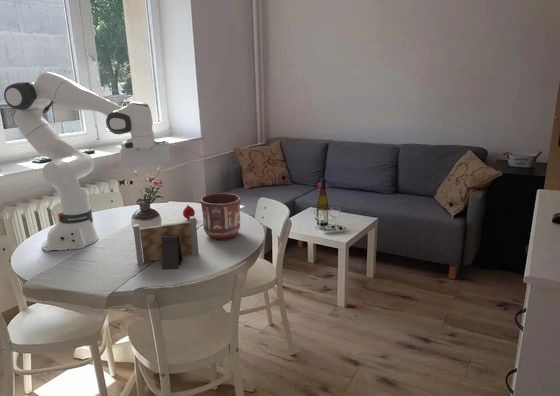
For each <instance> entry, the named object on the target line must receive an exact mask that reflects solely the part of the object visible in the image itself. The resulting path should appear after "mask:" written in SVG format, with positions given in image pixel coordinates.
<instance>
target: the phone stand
mask: <svg viewBox="0 0 560 396" xmlns="http://www.w3.org/2000/svg"><path fill="white" fill-rule="evenodd" d="M183 261H184V256H183V255H182V251H181V246H180V241H179V235H163V236H162V260H161V266H162V268H161V269H162V270H179V267H180V266H181V264H182V262H183Z"/></svg>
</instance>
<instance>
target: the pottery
mask: <svg viewBox="0 0 560 396" xmlns="http://www.w3.org/2000/svg"><path fill="white" fill-rule="evenodd" d="M200 205H201V211H202V223H203V224H202V225H203V230H204V233H205V234H206V235H207V236H208V237H209V238H210V239H212V240H214V241H226V240H230V239H233V238H234V237H235V236H237V234H238V232H239V231H240V229H241V196H239V195H237V194H234V193H229V192H228V193H225V192H222V193H221V192H220V193H219V192H217V193H211V194H207V195H204V196H202V197H201V198H200Z"/></svg>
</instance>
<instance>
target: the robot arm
mask: <svg viewBox="0 0 560 396" xmlns="http://www.w3.org/2000/svg"><path fill="white" fill-rule="evenodd" d="M3 97H4V101H5V103H6V104H7V106H9V107H10V108H12V109H14V110H16V111H17V110H18V111H17V112H16V113H15V114H14V117H13V121H14V123H15V125H16V127H17V128H18V131H20V133H21V134H22V136H23V137H24V138H25V139H26V141H28V143H29V145H31V147H32V148H33V149H34V150H35V151H36V152H37V153H38V154H39V155H41V156H43V157H46V158H49V159H50V160H51V161H49V162H48V163H46V164H45V165H44V166H43V168H42V177H43V179H44V180H45V182H46V183H48V184H49V185H51V186H53V187H54V189H55V191H56V193H57V195H58V197H59V200H60V205H61V211H58V213H57V218H58V222H57V223H56V224H55V225H54V226H53V227H51V228H50V229H49V231H48V232H47V238H46V240H45V241H44V242H43V243H42V250H43V249H44V250H46V251H45V252H50V251H49V250H58V251H65V250H66V251H67V249H69V250H77V249H78V250H79V249H84V248H85V247H87V246H89V245H91V244H94V243H96V242H97V241H98V240H99V235H98V233H97V232H96V229H95V224H94V216H93V210H92V209H91V205H90V200H89V199H90V198H89V194H88V191H86V189H83V188H82V186H81V185H80V183H79V180H80V179H81V178H84V177H86V176H87V175H89V174H90V173H92V172H93V170H94V169H95V162H94V160H93V158H92V156H91V155H89V154H88V153H86V152H82V151H80V150H79V149H77V148H75V147H74V146H73V145H72V144H70V143H68V142H67V141H66V140H65V139H63V138H62V136H61V135H60V134H59V133H58V131H56V129H54V128H53V126H52V125H51V124H50V123H49V122H48V120H47V119H46V117H45V116H44V114H45V113H48V112H49V110H50V108H51V107H52V106H53V105H54V103H55V104H57V105H58V106H61V107H63V108H65V109H67V110H72V111H92V112H98V113H101V114H103V115H106V120H105V122H106V123H105V124H106V127H107V129H108V130H109V132H111V133H112V134H114V135H119V136H120V135H124V134H130V136H131V138H129V139H126V140H123V141H121V143H120V146H121V149H120V150H119V165H120V167H123V168H124V167H129V170H130V171H131V172H132V175H133V177H138V174H137V170H134V166H135V167H137V166H144V165H155V164H157V165H158V168H156V169H155V170H156V173H155V174H157V175H161V169H162V168H163V164H167V163H170V162H171V153H170V149H171V146H170V145H171V144H170V143H169V142H168V141H167V140H155V133H154V131H153V125H154V123H153V122H154V121H153V115H152V111H151V107H150V106H149V104H147V103H146V102H143V101H130V102H129V103H127V104H126V106H123V105H120V104H118V103H116V102H114V101H112V100H109V99H108V98H105V97H103V96H101V95H99V94H97V93H95V92H93V91H91V90H89V89H87V88H86V87H84V86H82V85H80V84H78V83H76V82H75V81H73V80H71V79H68V78H67V77H65V76H62V75H60V74H57V73H54V72H50V71H45V72H42V73H41V74H39V75H38V76H37V79H36V81H35V82H33V81H27V82H15V83H11V84H9V85H8V86H7V87H6V88H5V89H4V92H3ZM44 250H43V251H44Z"/></svg>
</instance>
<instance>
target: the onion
mask: <svg viewBox="0 0 560 396" xmlns="http://www.w3.org/2000/svg"><path fill="white" fill-rule="evenodd" d="M195 214H196V211H195V210H194V208H193V207H191V206H190V205H189V204H186V207H185V208H184V209H183V210H182V216H183V217H184V219H186V220H187V221H190V216H195Z"/></svg>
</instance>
